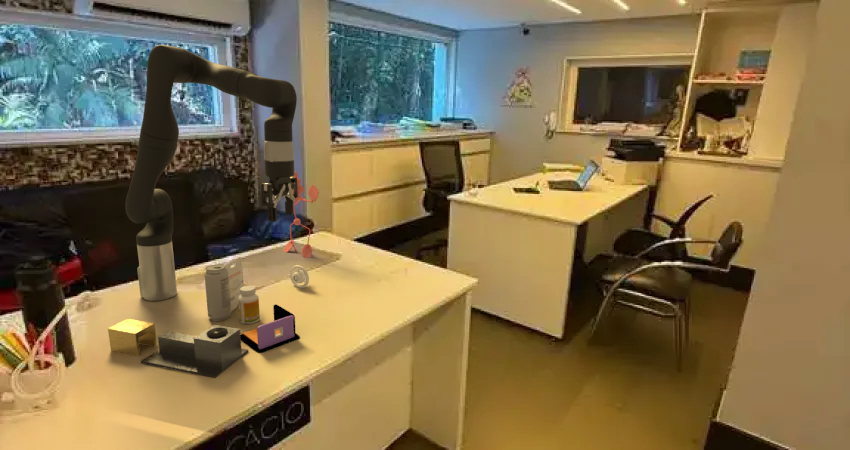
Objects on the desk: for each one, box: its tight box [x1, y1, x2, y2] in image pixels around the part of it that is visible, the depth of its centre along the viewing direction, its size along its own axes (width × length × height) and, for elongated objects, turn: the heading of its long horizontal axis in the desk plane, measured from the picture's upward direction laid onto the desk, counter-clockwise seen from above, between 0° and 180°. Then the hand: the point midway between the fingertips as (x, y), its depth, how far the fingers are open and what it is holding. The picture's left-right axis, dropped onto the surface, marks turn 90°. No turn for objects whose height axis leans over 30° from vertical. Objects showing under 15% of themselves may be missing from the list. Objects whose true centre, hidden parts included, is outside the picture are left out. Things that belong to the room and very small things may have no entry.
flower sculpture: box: [272, 171, 320, 259], centre depth 178 cm, size 15×26×35 cm, turn 57°
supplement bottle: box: [237, 285, 261, 325], centre depth 128 cm, size 5×5×10 cm
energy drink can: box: [204, 264, 232, 322], centre depth 129 cm, size 6×6×15 cm
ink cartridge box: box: [224, 256, 245, 312], centre depth 136 cm, size 9×5×15 cm, turn 170°
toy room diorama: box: [240, 304, 301, 354], centre depth 120 cm, size 12×12×7 cm
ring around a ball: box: [289, 264, 310, 289], centre depth 154 cm, size 8×6×8 cm
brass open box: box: [107, 318, 158, 357], centre depth 112 cm, size 8×6×6 cm
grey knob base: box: [140, 324, 249, 379], centre depth 109 cm, size 20×12×8 cm, turn 75°
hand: (281, 217), depth 125 cm, fingers open, 8 cm apart
